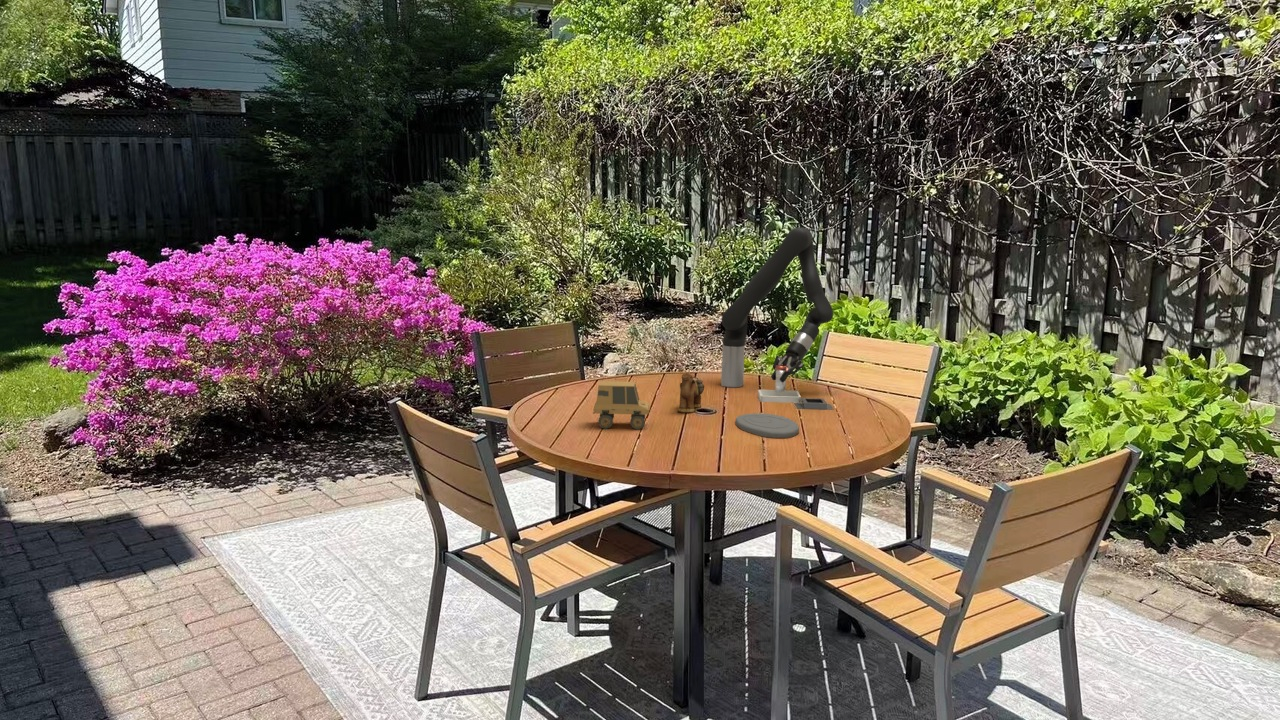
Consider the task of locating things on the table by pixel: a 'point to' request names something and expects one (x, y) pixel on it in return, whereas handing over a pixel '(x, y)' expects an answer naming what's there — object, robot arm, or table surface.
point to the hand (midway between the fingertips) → (777, 379)
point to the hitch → (813, 404)
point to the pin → (778, 384)
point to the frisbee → (767, 425)
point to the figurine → (690, 393)
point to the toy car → (620, 403)
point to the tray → (779, 396)
